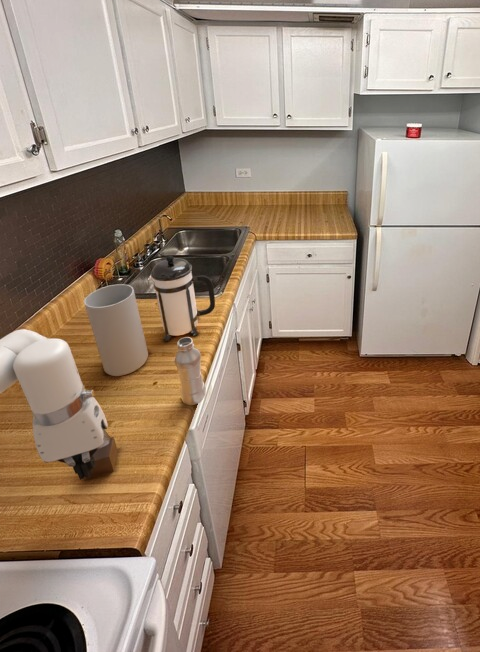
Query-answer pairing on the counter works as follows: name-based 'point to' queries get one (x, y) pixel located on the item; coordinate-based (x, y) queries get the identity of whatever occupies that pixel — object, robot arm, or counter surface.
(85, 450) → the robot arm
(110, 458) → the walnut block
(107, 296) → the cylinder vase
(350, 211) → the counter surface
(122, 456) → the counter surface
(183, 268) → the coffee press
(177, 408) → the counter surface
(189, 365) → the plastic bottle
